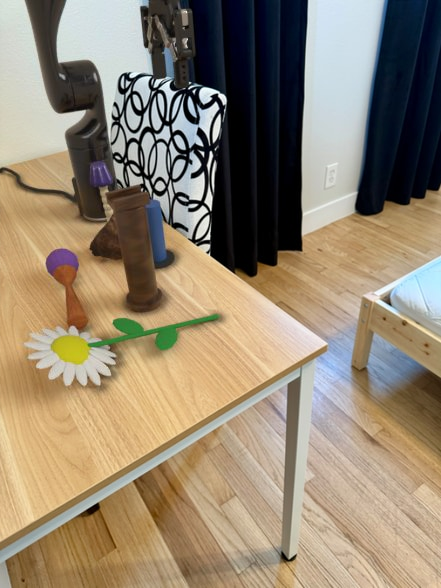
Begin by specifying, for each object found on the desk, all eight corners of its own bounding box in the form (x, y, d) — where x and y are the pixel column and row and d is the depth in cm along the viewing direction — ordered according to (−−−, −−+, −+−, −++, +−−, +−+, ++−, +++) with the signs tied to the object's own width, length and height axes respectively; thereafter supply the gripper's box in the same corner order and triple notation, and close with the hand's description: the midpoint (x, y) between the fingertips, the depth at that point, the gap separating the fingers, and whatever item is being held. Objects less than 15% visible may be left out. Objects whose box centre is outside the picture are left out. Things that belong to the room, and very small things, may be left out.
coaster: (134, 265, 86) (134, 264, 86) (150, 248, 92) (149, 246, 91) (166, 271, 84) (165, 269, 84) (180, 253, 90) (180, 251, 89)
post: (135, 317, 74) (113, 205, 61) (122, 297, 78) (99, 190, 65) (168, 304, 76) (155, 195, 64) (154, 286, 81) (138, 180, 68)
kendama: (52, 317, 68) (38, 249, 81) (68, 340, 72) (52, 272, 86) (88, 302, 69) (68, 238, 83) (101, 326, 73) (80, 261, 87)
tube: (169, 258, 87) (153, 264, 86) (162, 250, 90) (146, 256, 88) (163, 204, 80) (145, 209, 79) (155, 197, 83) (137, 202, 81)
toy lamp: (118, 241, 94) (104, 168, 84) (98, 240, 95) (82, 167, 85) (126, 231, 98) (113, 159, 88) (107, 229, 99) (92, 158, 88)
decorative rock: (152, 250, 91) (145, 203, 84) (142, 266, 86) (134, 218, 80) (99, 246, 93) (88, 200, 86) (87, 261, 88) (75, 213, 82)
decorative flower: (200, 307, 79) (23, 345, 66) (202, 286, 76) (18, 322, 63) (232, 353, 70) (36, 408, 57) (237, 331, 67) (31, 384, 54)
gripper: (117, -40, 64) (133, 79, 74) (155, -44, 54) (168, 94, 64) (163, -41, 67) (173, 73, 77) (206, -45, 57) (211, 87, 67)
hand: (170, 83), depth 71 cm, fingers open, 8 cm apart
